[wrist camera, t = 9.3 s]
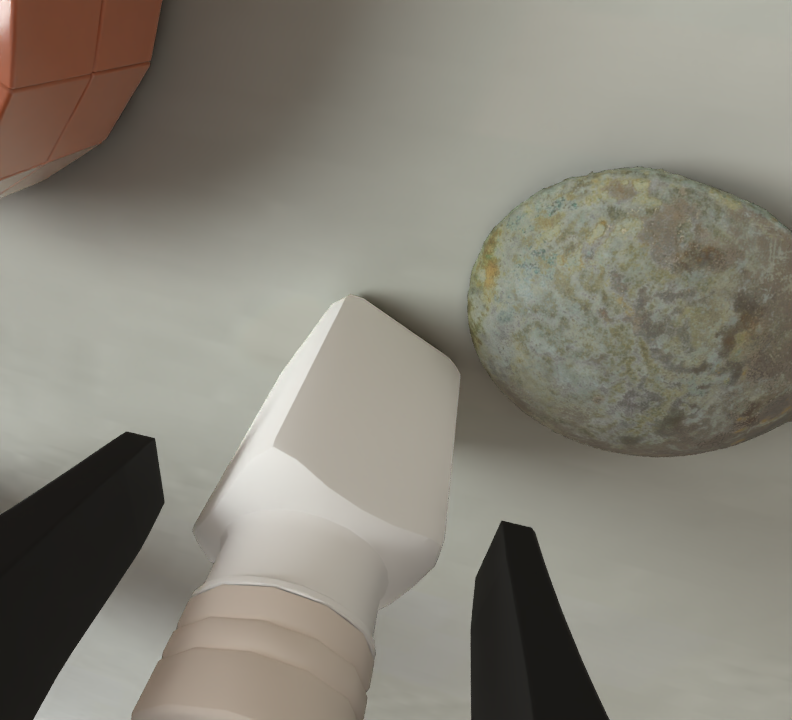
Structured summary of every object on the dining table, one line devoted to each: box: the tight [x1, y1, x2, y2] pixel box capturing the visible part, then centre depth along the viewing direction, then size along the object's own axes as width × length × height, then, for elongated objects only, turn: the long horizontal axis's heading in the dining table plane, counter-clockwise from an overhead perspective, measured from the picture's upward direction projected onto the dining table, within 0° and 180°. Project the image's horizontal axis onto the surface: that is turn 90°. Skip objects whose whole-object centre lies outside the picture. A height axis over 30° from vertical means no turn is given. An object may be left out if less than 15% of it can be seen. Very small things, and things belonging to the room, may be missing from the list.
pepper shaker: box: [131, 294, 461, 720], centre depth 11 cm, size 4×4×10 cm
